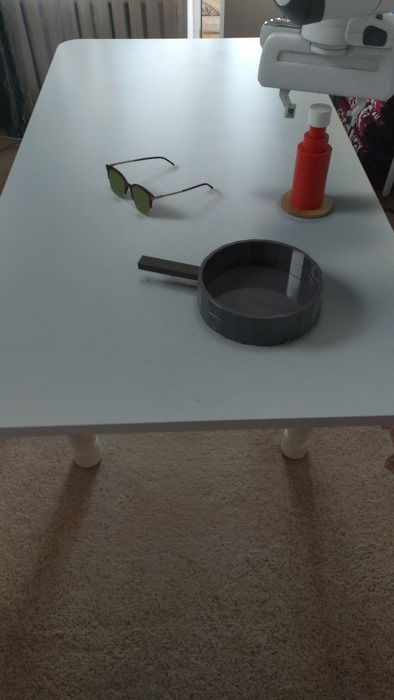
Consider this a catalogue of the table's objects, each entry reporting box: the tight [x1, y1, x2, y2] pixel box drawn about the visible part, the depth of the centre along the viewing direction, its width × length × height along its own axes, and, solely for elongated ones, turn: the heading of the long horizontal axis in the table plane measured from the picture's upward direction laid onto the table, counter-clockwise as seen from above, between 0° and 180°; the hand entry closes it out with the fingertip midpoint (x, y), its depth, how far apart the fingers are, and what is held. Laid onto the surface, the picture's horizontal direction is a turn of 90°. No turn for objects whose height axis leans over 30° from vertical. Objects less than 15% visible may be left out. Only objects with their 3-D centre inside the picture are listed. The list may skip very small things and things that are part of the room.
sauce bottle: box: [290, 102, 333, 210], centre depth 90 cm, size 6×6×16 cm
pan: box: [197, 238, 325, 346], centre depth 77 cm, size 17×17×5 cm
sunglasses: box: [105, 156, 214, 216], centre depth 99 cm, size 14×15×5 cm
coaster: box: [279, 189, 333, 219], centre depth 97 cm, size 9×9×1 cm
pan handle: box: [137, 254, 201, 282], centre depth 80 cm, size 9×2×1 cm, turn 72°
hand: (319, 120), depth 86 cm, fingers open, 8 cm apart
